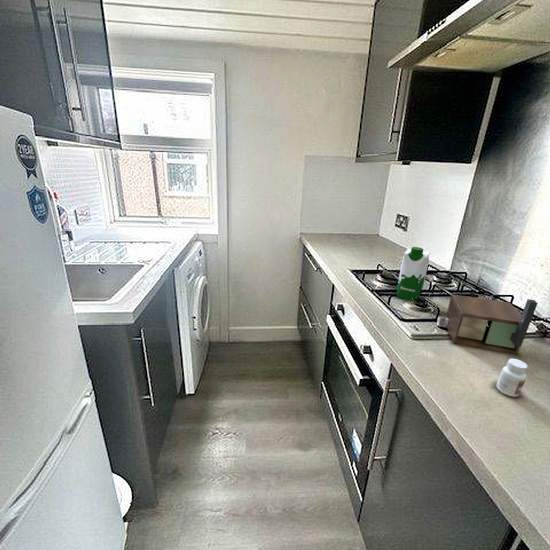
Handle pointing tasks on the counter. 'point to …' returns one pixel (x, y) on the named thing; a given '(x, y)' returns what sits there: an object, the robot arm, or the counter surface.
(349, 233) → the counter surface
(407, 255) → the milk carton
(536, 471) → the counter surface
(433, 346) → the counter surface
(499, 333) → the sliding door
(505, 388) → the pill bottle
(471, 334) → the cupboard
